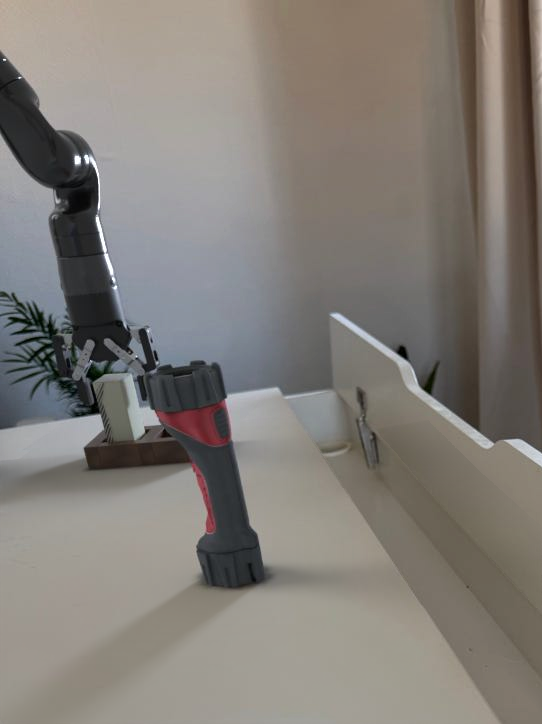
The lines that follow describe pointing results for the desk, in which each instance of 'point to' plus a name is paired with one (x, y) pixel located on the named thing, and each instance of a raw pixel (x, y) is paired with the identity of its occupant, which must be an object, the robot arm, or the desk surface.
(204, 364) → the flashlight
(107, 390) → the box
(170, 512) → the desk surface
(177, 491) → the desk surface
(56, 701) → the desk surface
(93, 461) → the socket block
